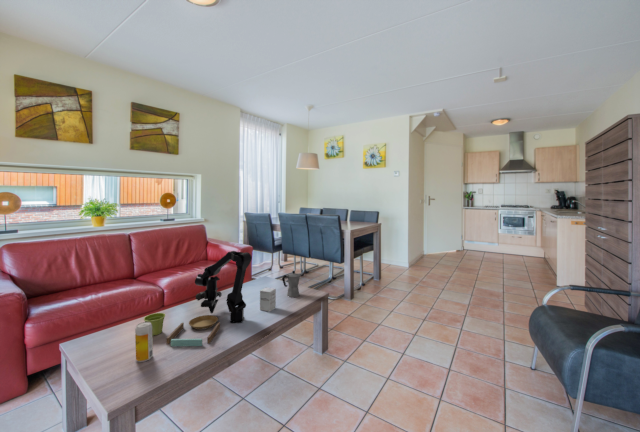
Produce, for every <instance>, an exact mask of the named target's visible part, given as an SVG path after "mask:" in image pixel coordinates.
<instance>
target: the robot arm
mask: <svg viewBox="0 0 640 432" xmlns="http://www.w3.org/2000/svg"><path fill="white" fill-rule="evenodd" d="M231 261H232V262H234V263H235V266H236V272H235V276H234V277H235V278H234V281H233V287H232V291H231V292H230V293H228V294H227V297H226V300H225V301H226V305H227V308H228V312H229V317H230V318H229V319H230V320H229V321H230V323H232V324H235V323H237V324H238V323H240V324H241V323H243V321H244V319H245V316H244V314H245V313H244V312H245V311H244V310H245V308H246V306H247V303H246V302H245V301H244V300H243V298H244V297H243V294H242V290H243V289H242V288H243V286H244V280H245V277H246V272H247V269H248V267H249V266H250V264H251V262H252V255H251V254H250V252H242V251H236V250H232V251H228V252H227V253H226V254H225V255H223V256H222V257H221V258H220V259H218V261H216V262H215V263H213V264H210V265H209V266H206V267H205V268H204V270H203V272H202V273H198V274H197V276H196V277H195V279H194V284H195V285H196V286H199V287H205V288H206V289H205V290H203V291H200V292H198V293H197V294H196V295H195V299H196V301H198V302H199V301H200V300H203V301H201V303H200V307H201V308H208V310H209V312H210V314H213V313H214V311H215V308H216V307H217V304H218V303H219V298H222V292H221V291H218V289H219V288H218V286H217V285H218V284H217V283H218V281H220V278H219V277H218V276H217V275H218V274H219V273H220V272H221V269H222V268H224V267H225V266H226V265H227V264H229V262H231ZM217 297H219V298H218V299H217Z"/></svg>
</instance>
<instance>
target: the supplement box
mask: <svg viewBox="0 0 640 432" xmlns="http://www.w3.org/2000/svg"><path fill="white" fill-rule="evenodd" d="M276 293H277V289H276V288H272V287H264V288H262V289H261V290H259V310H260V311H263V312H264V311H265V312H272V311H273V310H275V309H276V307H277V306H276V298H277V295H276Z"/></svg>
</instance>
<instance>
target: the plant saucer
mask: <svg viewBox="0 0 640 432" xmlns="http://www.w3.org/2000/svg"><path fill="white" fill-rule="evenodd" d="M218 320H219V317H217V316H216V315H212V314H205V315H199V316H196V317H194V318H193V317H192V319H190V320H189V321H188V325H189V326H190V327H191V328H192V329H195V330H206V329H210V328H212V327H213V326H215V325H216V324H217V323H218Z"/></svg>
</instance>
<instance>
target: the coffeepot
mask: <svg viewBox="0 0 640 432" xmlns="http://www.w3.org/2000/svg"><path fill="white" fill-rule="evenodd" d="M302 275H303V274H302V273H295V271H294V270H292V273H288V274H287V273H286V274H285V275H283V276H282V278H281V280H282V283H283V286H284V287H288V288H287V294H286V296H287V297H288V296H289V297H288V298H292V297H294V298H298V297H300V289H299V282H300V277H301V276H302ZM285 279H287V281H288V284H287V283H286V280H285ZM297 296H298V297H297Z"/></svg>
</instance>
